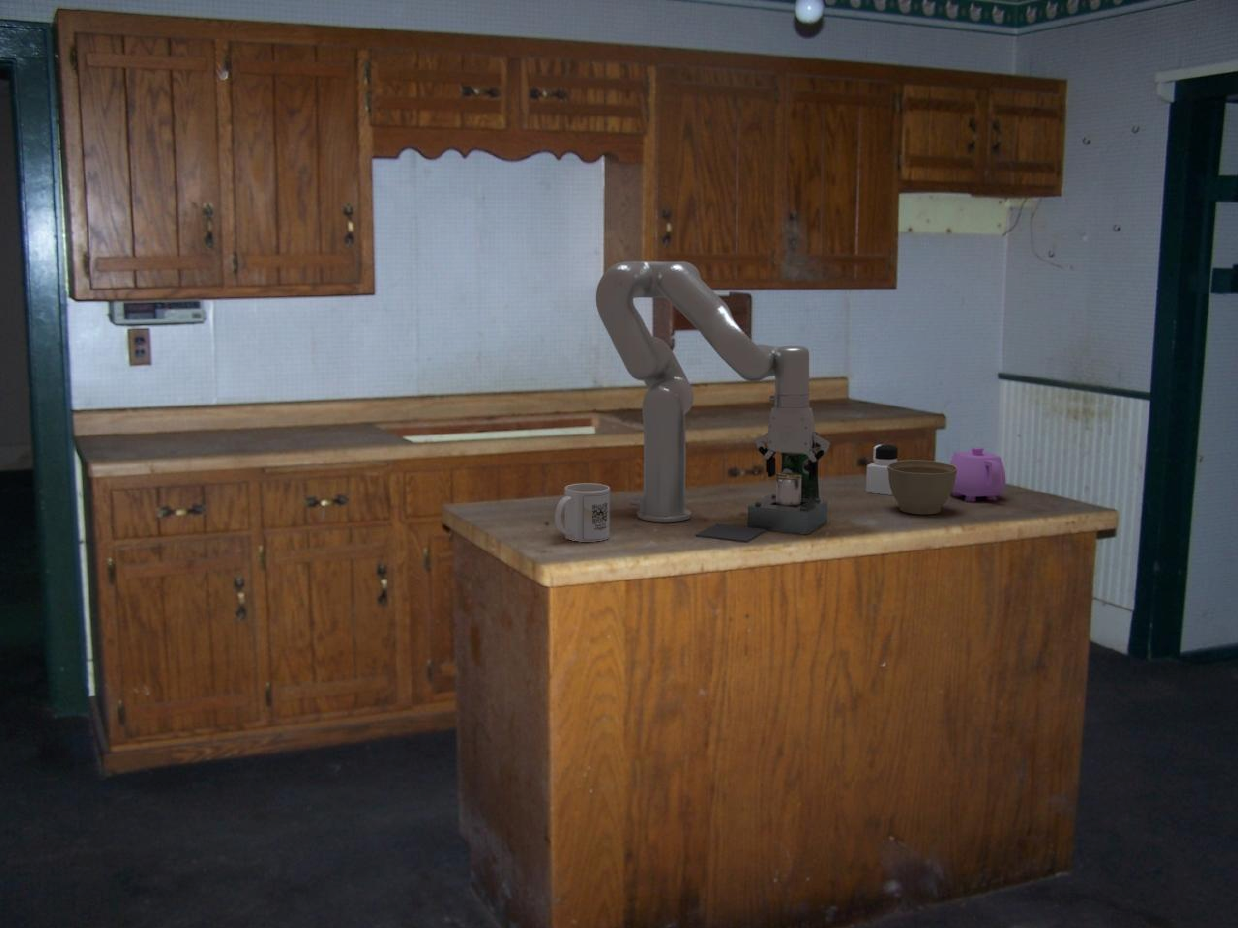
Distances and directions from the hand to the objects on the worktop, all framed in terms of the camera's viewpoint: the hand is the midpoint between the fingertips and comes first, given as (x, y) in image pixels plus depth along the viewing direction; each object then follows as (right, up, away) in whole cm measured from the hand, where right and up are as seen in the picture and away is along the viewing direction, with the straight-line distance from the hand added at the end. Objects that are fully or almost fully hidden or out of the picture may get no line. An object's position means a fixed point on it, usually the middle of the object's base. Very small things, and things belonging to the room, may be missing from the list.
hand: (791, 477), depth 289 cm
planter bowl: (+33, -8, +18) cm, 38 cm away
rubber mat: (-14, -12, -7) cm, 20 cm away
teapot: (+50, -6, +34) cm, 61 cm away
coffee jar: (+4, -8, +21) cm, 22 cm away
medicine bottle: (+29, -4, +40) cm, 50 cm away
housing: (-1, -11, +2) cm, 11 cm away
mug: (-47, -13, -11) cm, 50 cm away
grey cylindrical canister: (-1, -11, +2) cm, 11 cm away
